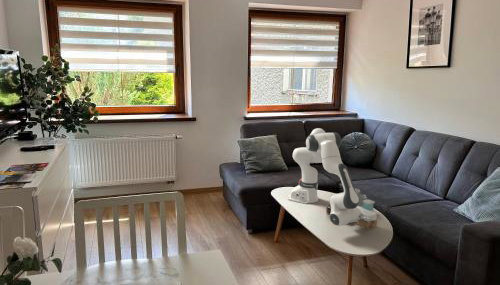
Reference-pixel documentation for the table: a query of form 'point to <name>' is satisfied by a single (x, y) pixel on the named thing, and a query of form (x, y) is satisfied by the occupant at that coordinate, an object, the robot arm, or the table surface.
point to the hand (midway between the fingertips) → (369, 209)
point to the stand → (367, 224)
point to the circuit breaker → (361, 198)
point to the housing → (368, 205)
